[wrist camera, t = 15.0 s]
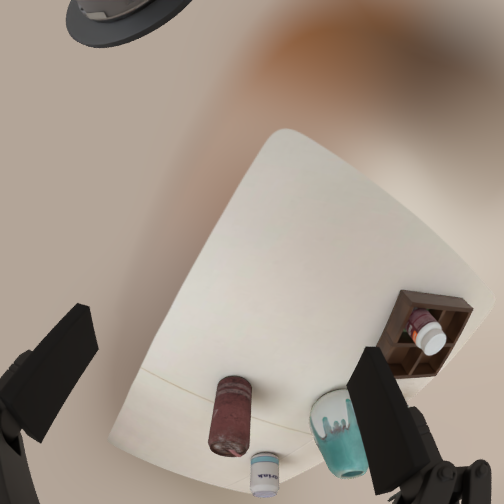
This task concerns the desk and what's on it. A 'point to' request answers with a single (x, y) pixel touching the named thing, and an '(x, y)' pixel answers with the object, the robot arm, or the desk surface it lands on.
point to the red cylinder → (231, 418)
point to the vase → (338, 435)
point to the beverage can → (264, 475)
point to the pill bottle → (425, 331)
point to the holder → (401, 344)
